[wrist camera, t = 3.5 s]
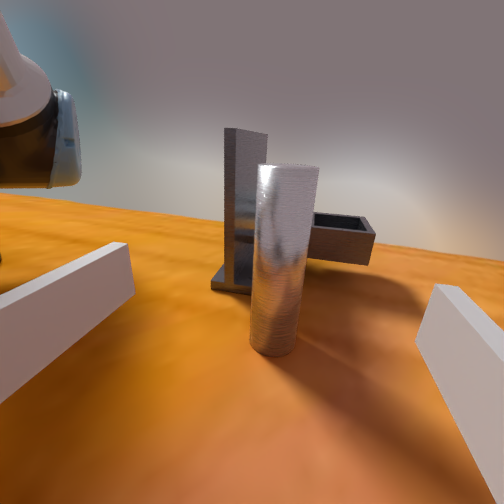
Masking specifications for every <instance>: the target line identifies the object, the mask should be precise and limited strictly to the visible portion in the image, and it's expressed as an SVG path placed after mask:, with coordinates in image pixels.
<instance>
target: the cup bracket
mask: <svg viewBox="0 0 504 504" xmlns="http://www.w3.org/2000/svg"><path fill="white" fill-rule="evenodd" d="M267 136H268V135H267V134H263V133H258V132H252V131H247V130H242V129H237V128H224V185H225V186H224V190H225V191H224V208H225V209H224V264H223V265H222V267H221V268H220V269H219V271H218V272H217V273H216V274H215V276H214V277H213V278H212V280H211V289H215V290H221V291H228V292H234V293H240V294H246V295H252V276H253V255H254V235H255V214H256V194H257V173H258V164H264V163H266V154H267V153H266V152H267V138H268V137H267ZM375 236H376V233H375V232H374V231H373V229H372V228H371V226H370V225H369V223H368V221H367V220H366V218H365V217H360V216H349V215H339V214H328V213H317V212H313V217H312V224H311V232H310V239H309V246H308V254H307V258H312V259H319V260H327V261H335V262H343V263H351V264H358V265H366V266H368V264H369V260H370V256H371V252H372V248H373V244H374V240H375Z"/></svg>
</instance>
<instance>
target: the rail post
mask: <svg viewBox="0 0 504 504" xmlns="http://www.w3.org/2000/svg"><path fill="white" fill-rule="evenodd" d="M318 174H319V167H315V166H308V165H298V164H282V163H264V164H258V173H257V194H256V214H255V235H254V255H253V276H252V297H251V317H250V338H249V340H250V344H251V346H252V347H253V348H254V349H255V350H256V351H257V352H259V353H260V354H262V355H265V356H269V357H280V356H284V355H287V354H288V353H290V352H291V351H292V350H293V348H294V346H295V341H296V333H297V326H298V319H299V312H300V304H301V297H302V290H303V283H304V275H305V268H306V261H307V254H308V246H309V239H310V232H311V224H312V217H313V210H314V203H315V195H316V188H317V180H318Z"/></svg>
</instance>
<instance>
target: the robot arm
mask: <svg viewBox="0 0 504 504" xmlns="http://www.w3.org/2000/svg"><path fill="white" fill-rule="evenodd" d="M81 173H82V172H81V151H80V139H79V130H78V122H77V115H76V109H75V104H74V100H73V98H72V96H71V95H70V94H69V93H67V92H63V91H61V90H60V89H56V90H55V91H53V90H52V87H51V85H50V82H49V80H48V78H47V76H46V74H45V73H44V72H43V70H42V69H41V68H40V67H39V66H38V65H37V64H36V63H34V62H33V61H32V60H30V59H29V58H27V57H25V56H24V55H22V54H20V53H19V51H18V49H17V47H16V44H15V42H14V40H13V38H12V35H11V33H10V31H9V29H8V27H7V24H6V22H5V20H4V18H3V15H2V13H1V11H0V188H47V189H50V188H52V187H62V186H72V185H75V184H77V183H78V182H79V180H80V178H81ZM0 260H1V254H0ZM133 295H135V287H134V281H133V275H132V268H131V262H130V256H129V249H128V244H126V243H119V242H112V243H110V244H108V245H106V246H104V247H102V248H99V249H97V250H95V251H93V252H91V253H89V254H87V255H85V256H82V257H80V258H78V259H76V260H74V261H72V262H70V263H68V264H65V265H63V266H61V267H59V268H57V269H55V270H53V271H51V272H48V273H46V274H44V275H42V276H40V277H38V278H36V279H34V280H31V281H29V282H27V283H25V284H23V285H21V286H19V287H16V288H14V289H12V290H10V291H8V292H6V293H4V294H2V295H0V404H1V403H2V402H3V401H4V400H6V399H7V398H8V397H9V396H11V395H12V394H13V393H14V392H15V391H17V390H18V389H19V388H20V387H22V386H23V385H24V384H25V383H26V382H28V381H29V380H30V379H31V378H33V377H34V376H35V375H36V374H38V373H39V372H40V371H41V370H42V369H44V368H45V367H46V366H47V365H49V364H50V363H51V362H52V361H54V360H55V359H56V358H57V357H58V356H60V355H61V354H62V353H63V352H65V351H66V350H67V349H68V348H69V347H71V346H72V345H73V344H74V343H76V342H77V341H78V340H79V339H81V338H82V337H83V336H84V335H85V334H87V333H88V332H89V331H90V330H92V329H93V328H94V327H95V326H97V325H98V324H99V323H100V322H101V321H103V320H104V319H105V318H106V317H108V316H109V315H110V314H111V313H112V312H114V311H115V310H116V309H117V308H119V307H120V306H121V305H122V304H124V303H125V302H126V301H127V300H128V299H130V298H131V297H132V296H133ZM415 343H416V345H417V347H418V349H419V351H420V353H421V355H422V357H423V359H424V361H425V363H426V365H427V367H428V369H429V371H430V373H431V375H432V377H433V379H434V381H435V383H436V385H437V386H438V388H439V390H440V392H441V394H442V396H443V398H444V400H445V402H446V404H447V406H448V408H449V410H450V412H451V414H452V416H453V418H454V420H455V422H456V424H457V426H458V428H459V430H460V432H461V434H462V436H463V438H464V440H465V442H466V444H467V446H468V448H469V450H470V452H471V454H472V456H473V458H474V460H475V462H476V464H477V466H478V468H479V470H480V472H481V474H482V476H483V478H484V480H485V482H486V484H487V486H488V488H489V490H490V492H491V494H492V496H493V498H494V500H495V502H496V503H497V504H504V331H503V330H502V329H501V328H500V327H499V326H498V325H497V324H496V323H495V322H494V321H493V320H492V319H491V318H490V317H489V316H488V315H487V314H486V313H485V312H484V311H482V310H481V309H480V308H479V307H478V306H477V305H476V304H475V303H474V302H473V301H472V300H471V299H470V298H469V297H468V296H467V295H466V294H465V293H464V292H463V291H462V290H461V289H460V288H459V287H458V286H451V285H443V284H435V286H434V288H433V291H432V294H431V297H430V300H429V303H428V305H427V308H426V311H425V314H424V317H423V320H422V322H421V325H420V328H419V331H418V334H417V336H416V339H415Z"/></svg>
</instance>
